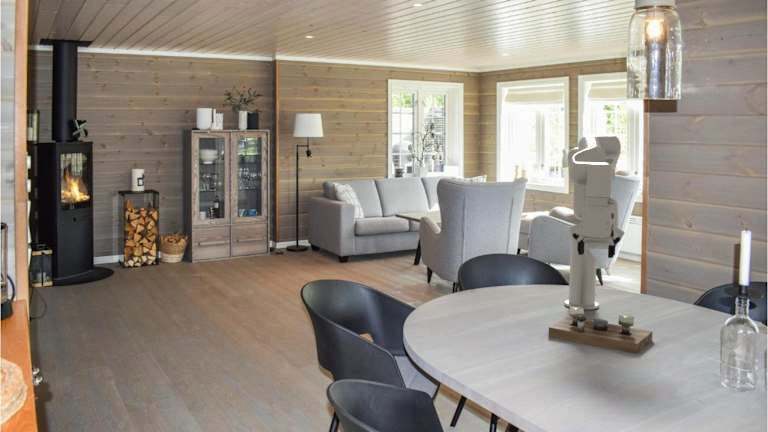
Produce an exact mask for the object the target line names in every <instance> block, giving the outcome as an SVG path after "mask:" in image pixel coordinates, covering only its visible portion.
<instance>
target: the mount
mask: <svg viewBox="0 0 768 432" xmlns="http://www.w3.org/2000/svg"><path fill="white" fill-rule="evenodd" d="M572 319H573V317H571V316H566V317H565V318H563V319H561V320H559V321H557V322H555V323H554V324H552V325H550V326H549V327H548V337H551V338H556V339H561V340H566V341H571V342H575V343H582V344H586V345H592V346H596V347H602V348H606V349H612V350H618V351H623V352H627V353H628V352H629V353H634V354H638V353H639V352H640V351H642V349H644V348H645V347H647V346H648V345H649V344H650V343H651V342H652V341H653V333H654V332H653V331H652V330H647V329H641V328H635V327H630V334H622V326H621V325H619V324H612V323H608V329H607V330H605V331H598V330H595V329H593V320H590V319H587V320H586V321H584V332H583V333H580V332H577V328H578V325H573V324H572Z"/></svg>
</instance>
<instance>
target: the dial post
mask: <svg viewBox="0 0 768 432" xmlns="http://www.w3.org/2000/svg"><path fill="white" fill-rule="evenodd" d="M587 317H588V316H586V315H576V320H578V328H577V332H580V333H583V332H584V321H586V320H588V319H587Z"/></svg>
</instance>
